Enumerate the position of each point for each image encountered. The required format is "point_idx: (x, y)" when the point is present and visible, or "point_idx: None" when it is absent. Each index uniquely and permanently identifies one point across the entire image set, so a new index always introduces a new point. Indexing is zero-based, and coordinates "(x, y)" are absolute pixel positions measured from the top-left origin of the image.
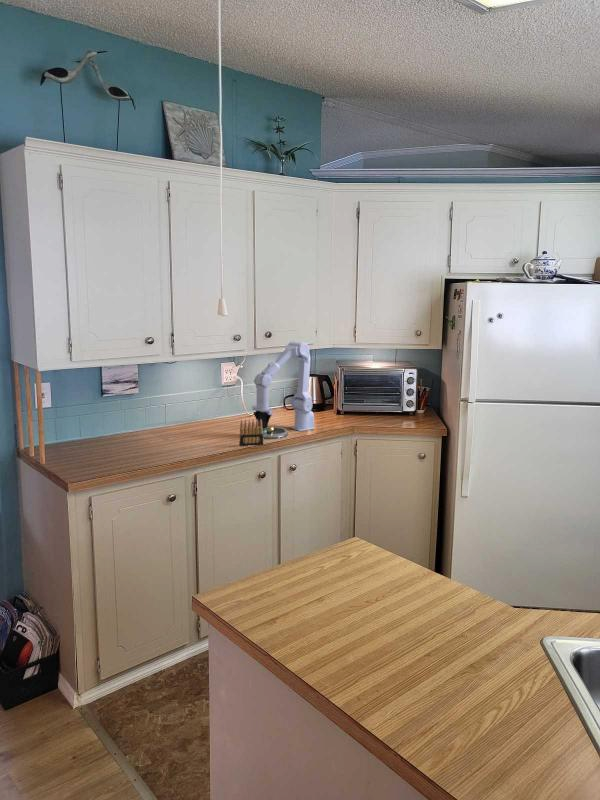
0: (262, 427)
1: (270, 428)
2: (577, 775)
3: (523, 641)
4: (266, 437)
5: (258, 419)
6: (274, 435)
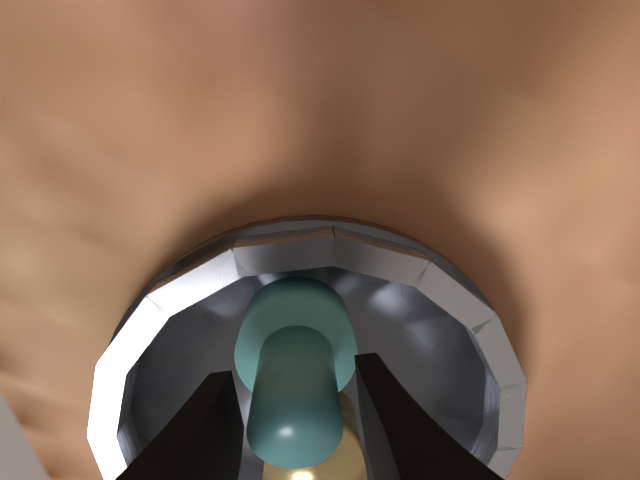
0: (257, 378)
1: (265, 465)
2: None
3: None
4: (133, 303)
5: (388, 464)
6: (95, 400)
